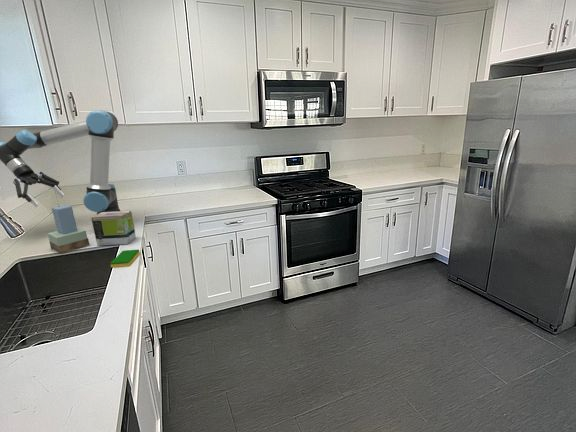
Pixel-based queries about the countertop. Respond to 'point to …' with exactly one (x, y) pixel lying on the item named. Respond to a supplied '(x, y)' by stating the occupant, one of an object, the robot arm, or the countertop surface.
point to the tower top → (67, 237)
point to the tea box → (113, 228)
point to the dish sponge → (125, 258)
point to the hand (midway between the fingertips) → (50, 200)
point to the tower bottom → (70, 246)
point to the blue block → (64, 219)
